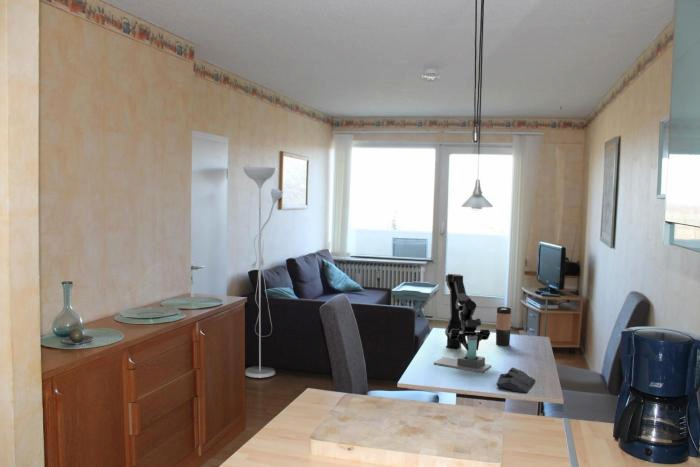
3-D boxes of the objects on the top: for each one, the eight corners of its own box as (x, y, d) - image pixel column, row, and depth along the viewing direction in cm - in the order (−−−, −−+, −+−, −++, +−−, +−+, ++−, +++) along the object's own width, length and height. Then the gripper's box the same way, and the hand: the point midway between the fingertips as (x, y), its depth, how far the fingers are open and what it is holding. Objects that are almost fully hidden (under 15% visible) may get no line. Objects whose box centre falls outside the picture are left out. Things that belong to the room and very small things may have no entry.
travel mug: (508, 343, 322) (510, 307, 321) (511, 346, 314) (512, 309, 313) (494, 342, 323) (495, 306, 321) (496, 345, 315) (498, 309, 314)
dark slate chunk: (490, 389, 243) (490, 378, 243) (501, 375, 263) (502, 365, 263) (528, 395, 237) (528, 384, 236) (536, 380, 256) (537, 370, 256)
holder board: (433, 364, 277) (434, 355, 277) (443, 358, 287) (443, 350, 287) (482, 372, 265) (483, 364, 265) (490, 366, 275) (491, 358, 275)
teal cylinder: (463, 362, 276) (464, 335, 275) (471, 361, 278) (472, 334, 277) (471, 365, 272) (472, 337, 271) (478, 363, 274) (479, 336, 273)
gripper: (451, 312, 277) (456, 340, 266) (489, 312, 278) (496, 341, 268) (447, 324, 285) (451, 353, 275) (484, 325, 286) (490, 353, 276)
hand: (472, 349), depth 273 cm, fingers closed on teal cylinder, 4 cm apart
